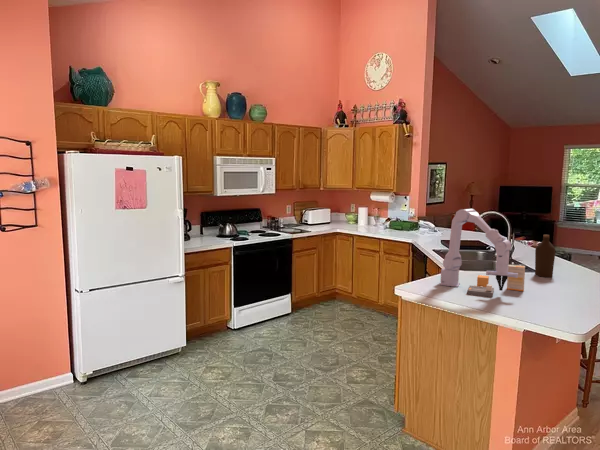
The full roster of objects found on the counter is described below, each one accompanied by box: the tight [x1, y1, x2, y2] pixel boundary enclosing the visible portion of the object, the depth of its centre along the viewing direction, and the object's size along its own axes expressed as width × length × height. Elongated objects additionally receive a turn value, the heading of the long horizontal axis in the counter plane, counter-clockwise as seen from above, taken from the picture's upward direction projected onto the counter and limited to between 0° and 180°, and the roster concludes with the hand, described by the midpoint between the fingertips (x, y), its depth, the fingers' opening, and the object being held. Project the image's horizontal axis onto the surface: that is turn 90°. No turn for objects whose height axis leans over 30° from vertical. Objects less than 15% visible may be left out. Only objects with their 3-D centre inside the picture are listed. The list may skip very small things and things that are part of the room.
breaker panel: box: [466, 285, 495, 298], centre depth 226 cm, size 12×11×3 cm
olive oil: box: [534, 234, 556, 278], centre depth 262 cm, size 11×11×25 cm
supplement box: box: [506, 264, 526, 292], centre depth 231 cm, size 8×5×13 cm, turn 59°
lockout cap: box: [476, 274, 490, 287], centre depth 236 cm, size 5×5×6 cm
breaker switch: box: [486, 284, 493, 291], centre depth 222 cm, size 2×2×3 cm
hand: (500, 290), depth 220 cm, fingers closed
